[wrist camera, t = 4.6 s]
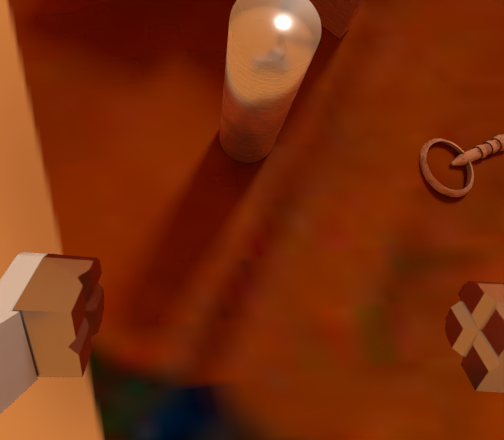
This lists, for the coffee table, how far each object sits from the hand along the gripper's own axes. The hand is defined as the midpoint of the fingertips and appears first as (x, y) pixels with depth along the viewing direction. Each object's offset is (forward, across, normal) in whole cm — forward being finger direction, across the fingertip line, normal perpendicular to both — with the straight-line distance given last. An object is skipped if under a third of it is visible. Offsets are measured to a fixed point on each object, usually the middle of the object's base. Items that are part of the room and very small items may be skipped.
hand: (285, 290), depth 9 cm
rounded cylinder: (+16, 0, +3) cm, 16 cm away
